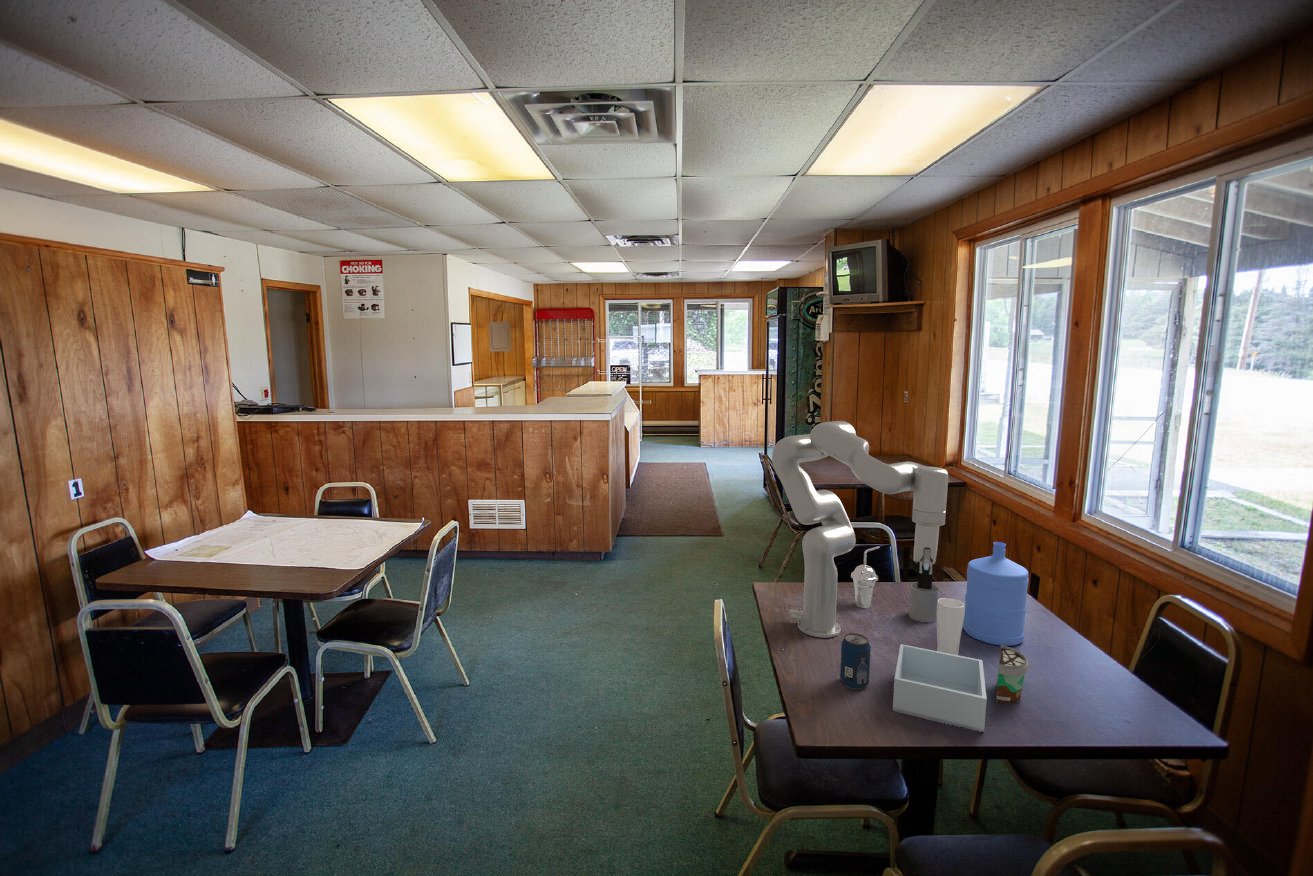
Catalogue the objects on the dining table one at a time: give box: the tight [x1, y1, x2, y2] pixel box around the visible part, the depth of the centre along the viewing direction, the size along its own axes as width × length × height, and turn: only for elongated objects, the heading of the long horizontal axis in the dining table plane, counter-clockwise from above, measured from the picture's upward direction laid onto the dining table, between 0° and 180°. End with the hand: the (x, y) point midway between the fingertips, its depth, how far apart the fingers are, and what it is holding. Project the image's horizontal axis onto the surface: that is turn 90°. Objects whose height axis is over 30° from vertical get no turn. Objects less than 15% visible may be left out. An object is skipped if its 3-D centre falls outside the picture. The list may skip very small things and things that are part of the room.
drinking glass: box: [936, 597, 965, 655], centre depth 162 cm, size 7×7×15 cm
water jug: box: [962, 541, 1029, 647], centre depth 173 cm, size 16×16×28 cm
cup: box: [908, 581, 940, 623], centre depth 186 cm, size 8×8×10 cm
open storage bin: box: [892, 643, 987, 732], centre depth 140 cm, size 19×19×8 cm
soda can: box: [839, 632, 872, 691], centre depth 147 cm, size 7×7×12 cm
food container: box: [995, 645, 1030, 704], centre depth 142 cm, size 12×6×10 cm, turn 148°
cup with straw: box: [850, 545, 881, 609], centre depth 194 cm, size 8×9×20 cm
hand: (924, 581), depth 150 cm, fingers open, 9 cm apart
